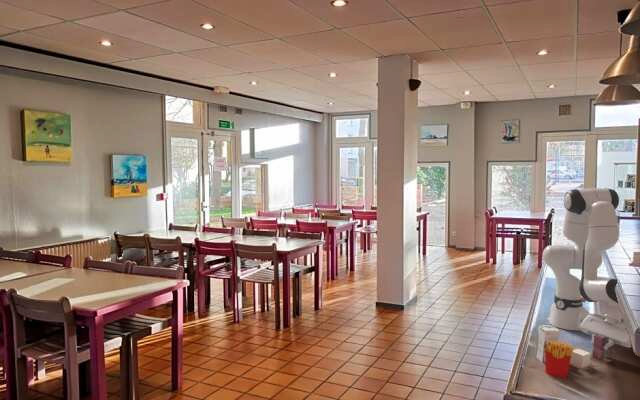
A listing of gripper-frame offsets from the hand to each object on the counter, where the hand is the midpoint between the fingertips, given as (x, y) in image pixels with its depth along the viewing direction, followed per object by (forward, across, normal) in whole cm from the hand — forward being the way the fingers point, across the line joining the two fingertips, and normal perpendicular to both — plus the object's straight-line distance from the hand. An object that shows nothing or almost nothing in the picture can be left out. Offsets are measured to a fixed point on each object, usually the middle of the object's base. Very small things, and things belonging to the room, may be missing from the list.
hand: (598, 346), depth 203 cm
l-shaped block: (+10, 0, -2) cm, 10 cm away
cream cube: (+12, 0, -5) cm, 13 cm away
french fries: (+24, +1, -16) cm, 29 cm away
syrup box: (+19, -9, -10) cm, 23 cm away
